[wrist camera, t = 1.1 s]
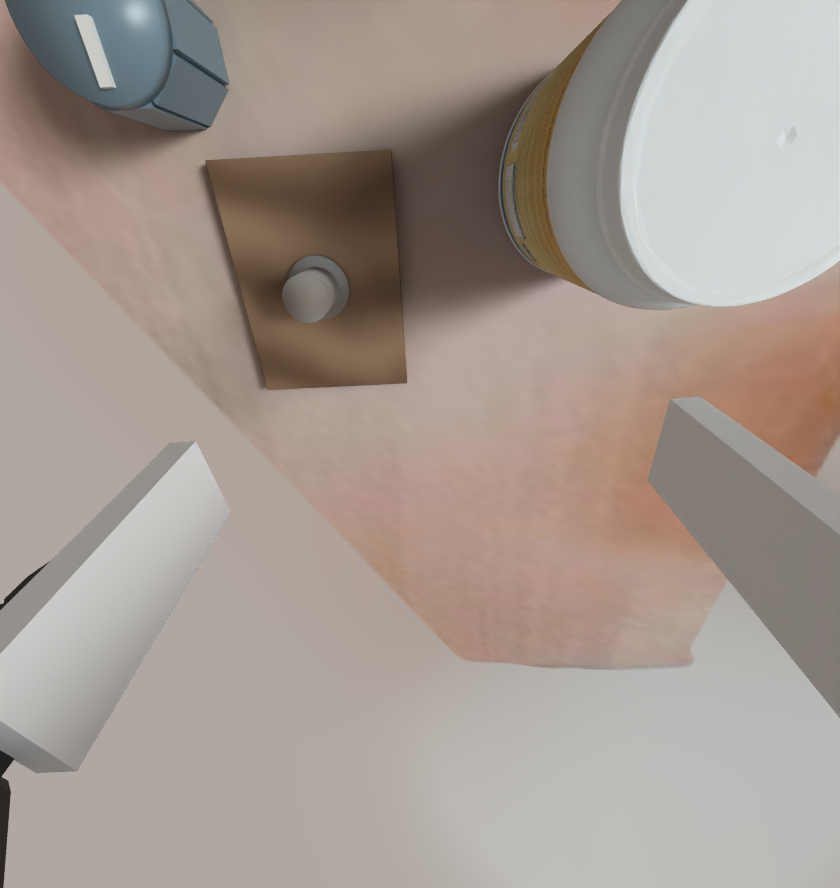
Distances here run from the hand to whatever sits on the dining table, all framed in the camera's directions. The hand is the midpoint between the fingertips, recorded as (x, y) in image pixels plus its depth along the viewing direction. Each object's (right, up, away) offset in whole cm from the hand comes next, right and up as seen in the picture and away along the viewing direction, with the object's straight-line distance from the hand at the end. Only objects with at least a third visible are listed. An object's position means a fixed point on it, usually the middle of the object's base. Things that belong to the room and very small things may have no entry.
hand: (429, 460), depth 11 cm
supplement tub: (+11, +19, +15) cm, 27 cm away
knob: (-15, +24, +12) cm, 31 cm away
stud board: (-8, +13, +19) cm, 24 cm away
